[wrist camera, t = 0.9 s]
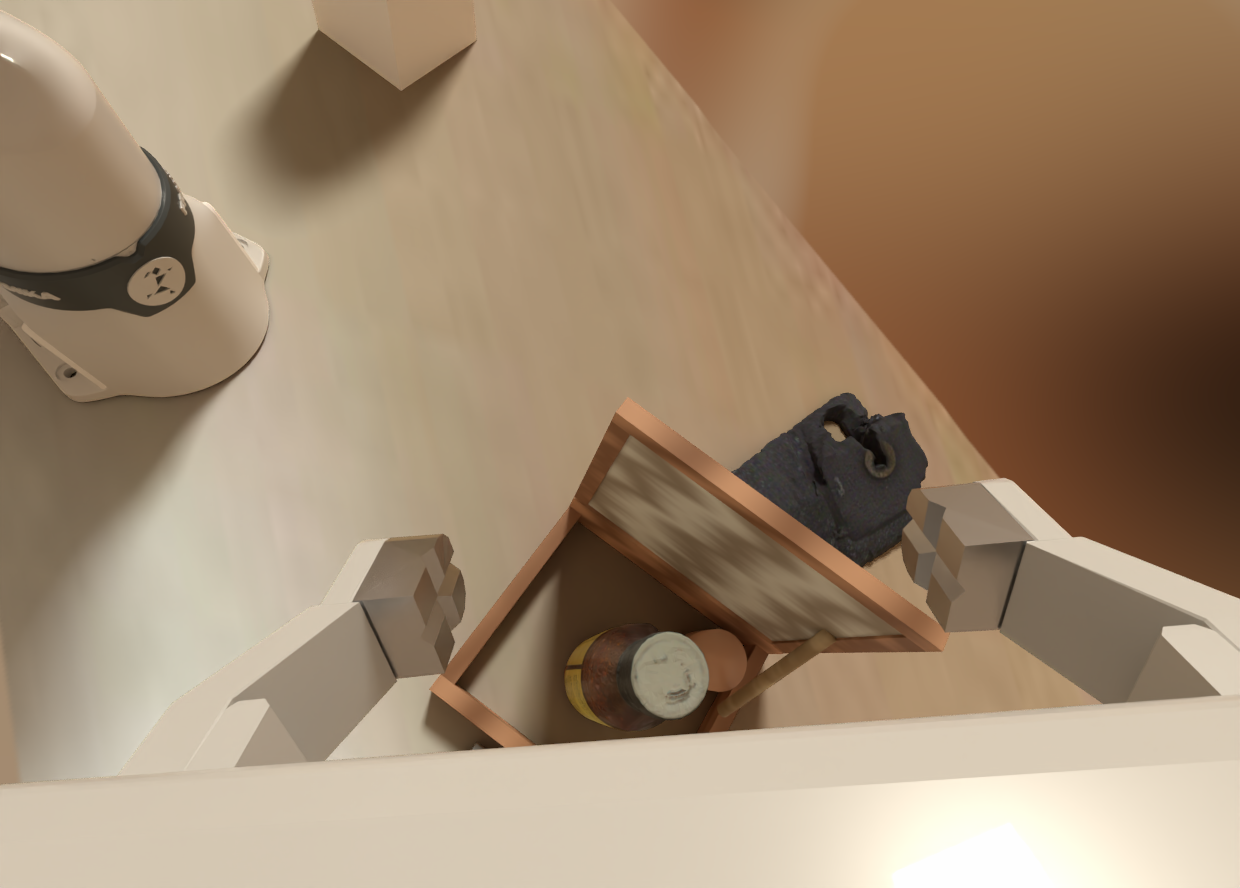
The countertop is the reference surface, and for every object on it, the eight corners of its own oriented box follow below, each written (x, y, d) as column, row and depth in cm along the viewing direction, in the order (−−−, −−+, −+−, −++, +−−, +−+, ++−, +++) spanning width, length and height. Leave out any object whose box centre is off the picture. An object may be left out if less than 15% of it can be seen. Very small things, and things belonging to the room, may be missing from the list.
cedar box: (432, 687, 43) (375, 715, 23) (574, 501, 50) (628, 396, 30) (648, 854, 42) (790, 1037, 22) (762, 641, 49) (950, 631, 29)
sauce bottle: (628, 728, 45) (719, 778, 27) (551, 708, 45) (590, 744, 26) (648, 642, 48) (742, 634, 29) (575, 621, 47) (625, 600, 29)
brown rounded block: (662, 666, 47) (679, 667, 43) (689, 620, 49) (709, 617, 44) (705, 699, 47) (728, 704, 42) (732, 652, 49) (756, 652, 44)
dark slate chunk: (682, 476, 54) (699, 460, 49) (854, 388, 61) (881, 368, 57) (771, 628, 51) (797, 625, 46) (940, 516, 58) (977, 505, 53)
